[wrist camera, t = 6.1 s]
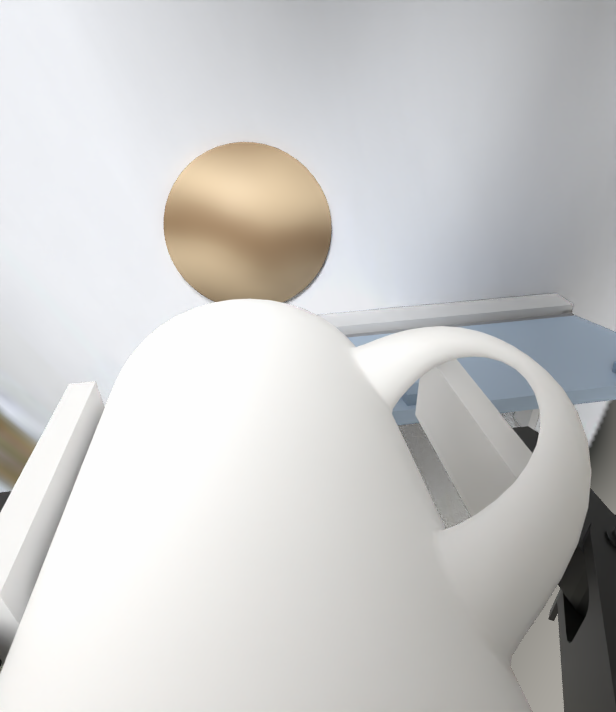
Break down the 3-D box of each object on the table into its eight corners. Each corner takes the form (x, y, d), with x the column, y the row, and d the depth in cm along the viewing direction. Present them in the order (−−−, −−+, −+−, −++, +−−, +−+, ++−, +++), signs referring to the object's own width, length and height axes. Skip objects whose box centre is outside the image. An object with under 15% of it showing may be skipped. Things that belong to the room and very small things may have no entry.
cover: (321, 346, 33) (321, 328, 32) (565, 323, 35) (569, 304, 34) (361, 430, 22) (361, 404, 21) (713, 388, 24) (721, 363, 23)
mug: (492, 368, 16) (818, 734, 7) (229, 521, 19) (225, 943, 9) (382, 155, 12) (856, 402, 3) (56, 389, 14) (-256, 936, 5)
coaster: (147, 146, 27) (146, 147, 26) (330, 137, 28) (331, 138, 27) (180, 313, 32) (180, 315, 32) (330, 300, 34) (331, 302, 33)
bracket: (311, 315, 34) (315, 328, 32) (556, 293, 36) (573, 304, 34) (314, 441, 41) (318, 458, 39) (520, 416, 43) (534, 431, 41)
